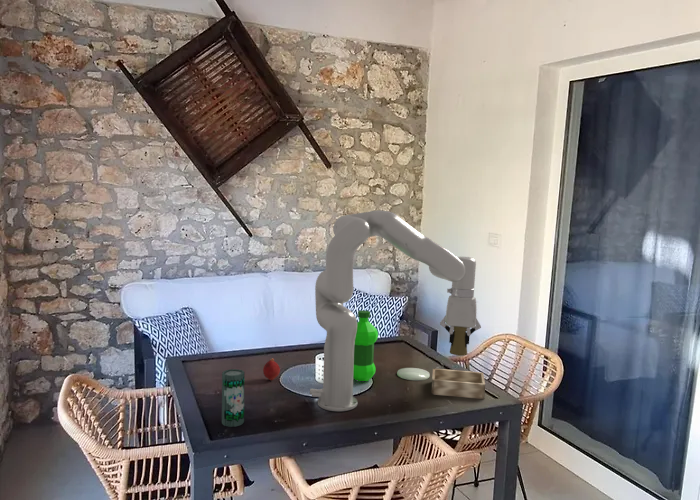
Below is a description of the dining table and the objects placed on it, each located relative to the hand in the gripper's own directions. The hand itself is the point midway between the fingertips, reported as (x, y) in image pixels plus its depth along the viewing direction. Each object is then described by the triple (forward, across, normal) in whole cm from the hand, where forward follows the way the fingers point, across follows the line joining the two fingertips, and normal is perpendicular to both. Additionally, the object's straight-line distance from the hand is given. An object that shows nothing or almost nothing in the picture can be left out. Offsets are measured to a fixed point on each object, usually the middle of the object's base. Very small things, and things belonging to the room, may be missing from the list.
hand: (458, 345), depth 199 cm
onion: (+17, -64, -7) cm, 67 cm away
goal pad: (+16, -15, +12) cm, 26 cm away
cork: (+3, 0, 0) cm, 3 cm away
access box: (+16, +1, 0) cm, 16 cm away
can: (+18, -64, -44) cm, 80 cm away
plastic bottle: (+17, -33, +2) cm, 37 cm away
